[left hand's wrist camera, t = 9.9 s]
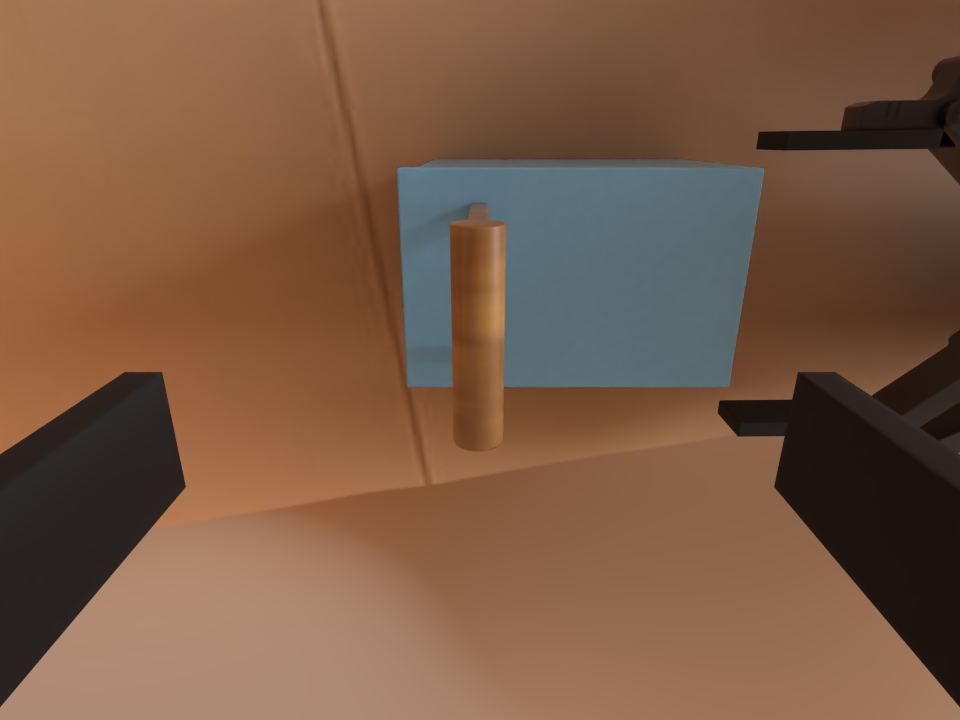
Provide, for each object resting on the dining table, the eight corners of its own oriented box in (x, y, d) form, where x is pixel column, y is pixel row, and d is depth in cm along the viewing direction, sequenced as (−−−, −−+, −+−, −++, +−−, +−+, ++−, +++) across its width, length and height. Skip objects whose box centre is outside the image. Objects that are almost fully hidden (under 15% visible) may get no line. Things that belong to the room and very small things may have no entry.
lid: (409, 379, 27) (378, 484, 19) (399, 166, 24) (356, 181, 15) (721, 379, 27) (825, 484, 19) (754, 166, 23) (899, 181, 15)
